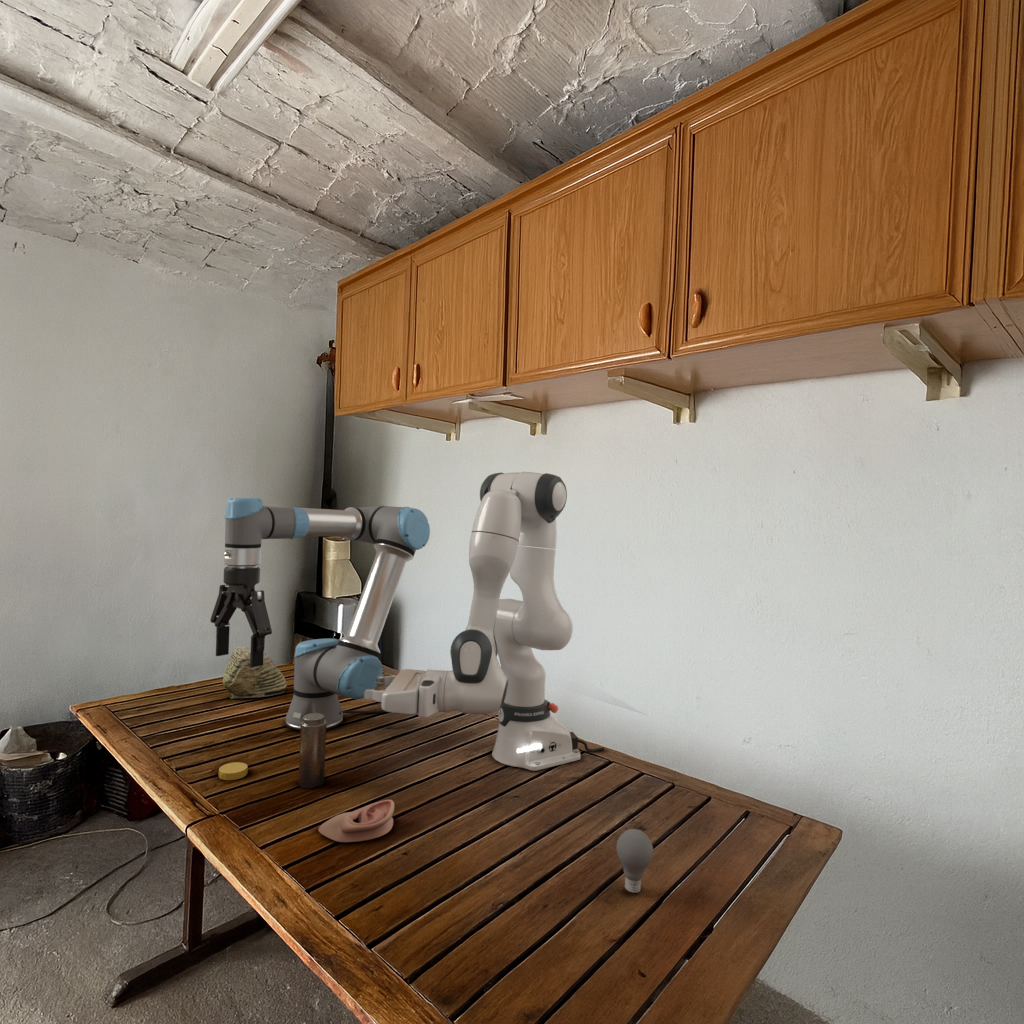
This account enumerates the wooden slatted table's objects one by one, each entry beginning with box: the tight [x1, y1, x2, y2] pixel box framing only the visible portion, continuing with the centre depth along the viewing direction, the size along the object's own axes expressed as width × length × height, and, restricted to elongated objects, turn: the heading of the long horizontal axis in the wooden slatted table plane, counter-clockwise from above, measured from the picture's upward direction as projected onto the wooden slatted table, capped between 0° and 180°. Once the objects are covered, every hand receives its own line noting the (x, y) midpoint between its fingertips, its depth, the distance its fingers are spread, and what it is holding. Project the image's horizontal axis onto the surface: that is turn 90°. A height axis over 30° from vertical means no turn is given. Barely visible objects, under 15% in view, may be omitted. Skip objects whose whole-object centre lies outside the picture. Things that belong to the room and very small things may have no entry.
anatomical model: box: [317, 799, 395, 843], centre depth 122 cm, size 13×4×12 cm
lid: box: [217, 761, 249, 781], centre depth 142 cm, size 6×6×2 cm
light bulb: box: [615, 828, 654, 894], centre depth 106 cm, size 6×6×10 cm
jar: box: [298, 713, 327, 789], centre depth 140 cm, size 5×5×15 cm
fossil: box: [222, 646, 288, 699], centre depth 198 cm, size 9×18×15 cm, turn 132°
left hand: (238, 660), depth 142 cm, fingers open, 13 cm apart
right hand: (370, 687), depth 139 cm, fingers open, 8 cm apart
